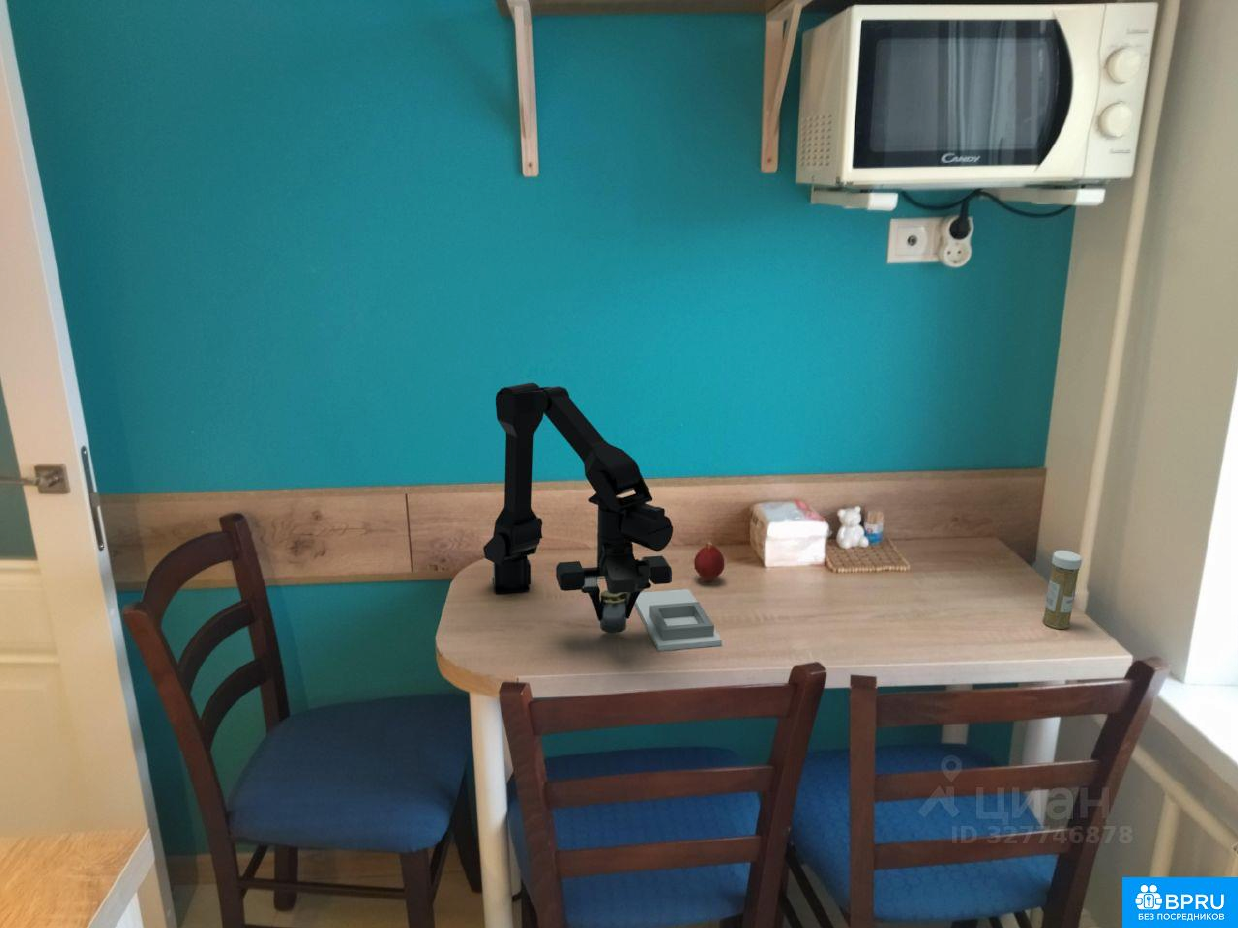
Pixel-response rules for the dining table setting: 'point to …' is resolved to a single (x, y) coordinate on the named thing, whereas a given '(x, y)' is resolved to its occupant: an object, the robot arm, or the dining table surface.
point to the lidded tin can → (613, 612)
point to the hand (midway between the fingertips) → (613, 618)
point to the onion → (709, 562)
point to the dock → (676, 620)
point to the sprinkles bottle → (1061, 589)
